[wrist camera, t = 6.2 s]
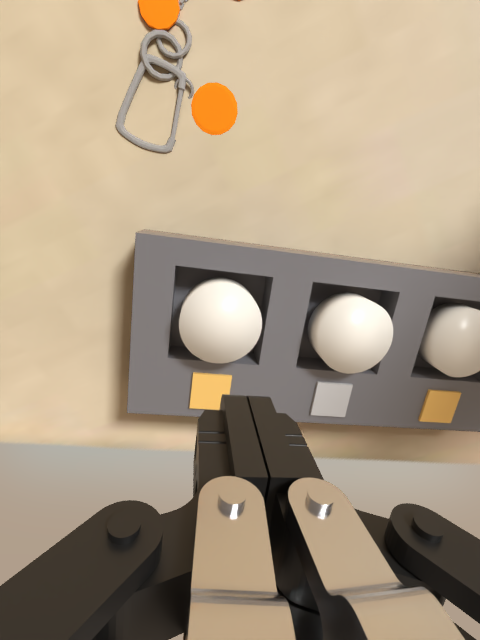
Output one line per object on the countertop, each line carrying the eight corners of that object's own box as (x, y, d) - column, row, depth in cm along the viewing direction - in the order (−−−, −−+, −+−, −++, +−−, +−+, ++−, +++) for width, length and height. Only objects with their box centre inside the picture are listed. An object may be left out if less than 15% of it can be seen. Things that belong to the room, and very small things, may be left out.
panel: (135, 389, 24) (126, 414, 21) (144, 229, 21) (135, 232, 18) (462, 409, 28) (493, 434, 25) (510, 277, 25) (554, 287, 22)
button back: (406, 361, 24) (424, 374, 22) (425, 299, 23) (446, 307, 21) (464, 367, 25) (486, 379, 23) (486, 306, 24) (510, 314, 22)
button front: (177, 346, 21) (175, 360, 19) (184, 273, 20) (182, 279, 18) (250, 352, 22) (255, 366, 20) (261, 282, 21) (268, 289, 19)
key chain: (217, 182, 21) (218, 181, 20) (97, 128, 20) (93, 125, 19) (305, -59, 18) (310, -71, 17) (171, -145, 16) (170, -163, 16)
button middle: (301, 357, 22) (311, 370, 21) (315, 288, 21) (327, 296, 19) (366, 362, 23) (382, 376, 21) (384, 296, 22) (402, 304, 20)
